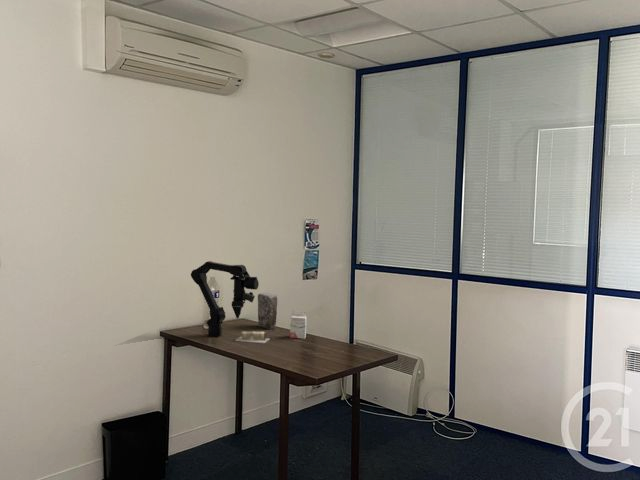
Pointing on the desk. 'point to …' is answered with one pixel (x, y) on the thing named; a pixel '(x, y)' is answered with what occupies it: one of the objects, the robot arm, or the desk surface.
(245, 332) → the birch block
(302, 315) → the ink cartridge box
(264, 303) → the stone block
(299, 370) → the desk surface
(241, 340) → the grey board
